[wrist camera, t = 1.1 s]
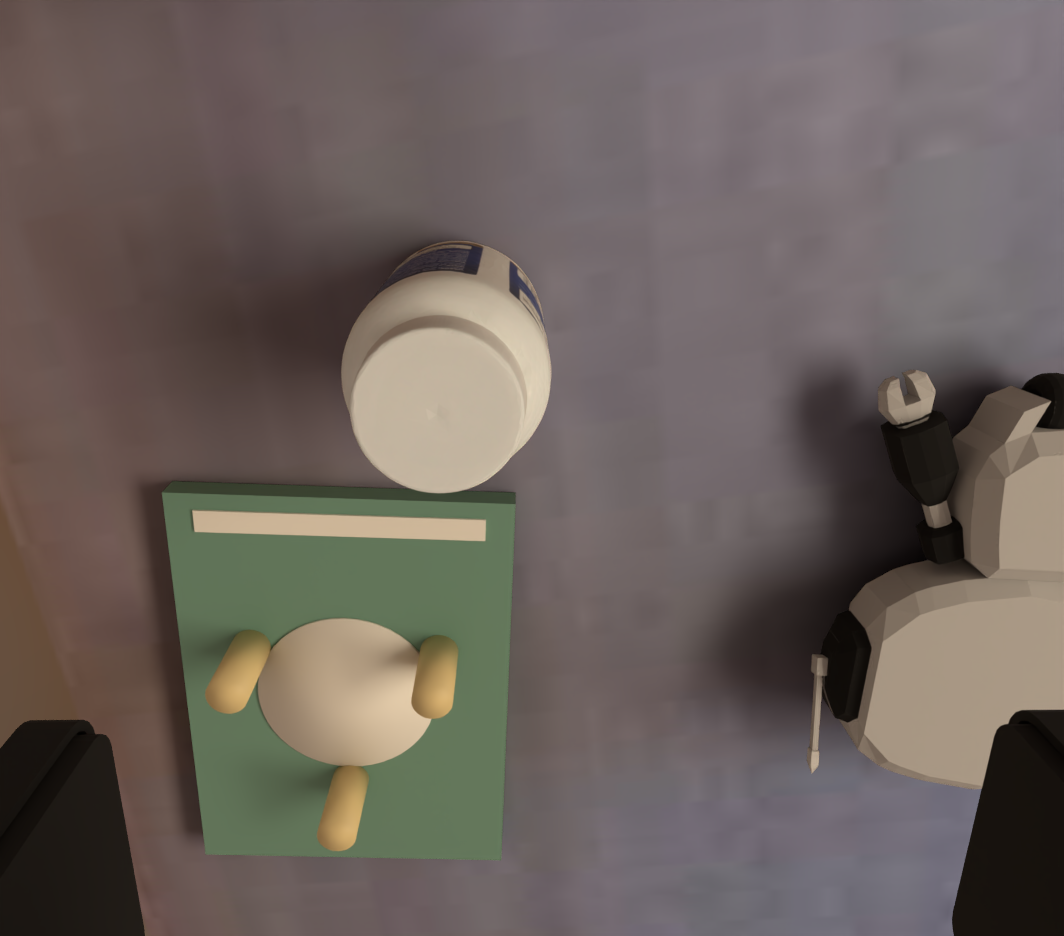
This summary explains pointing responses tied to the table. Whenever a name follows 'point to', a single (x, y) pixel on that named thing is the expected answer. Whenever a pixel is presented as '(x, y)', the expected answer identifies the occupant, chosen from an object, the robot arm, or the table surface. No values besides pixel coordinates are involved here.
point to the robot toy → (957, 589)
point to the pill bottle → (447, 368)
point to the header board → (345, 666)
